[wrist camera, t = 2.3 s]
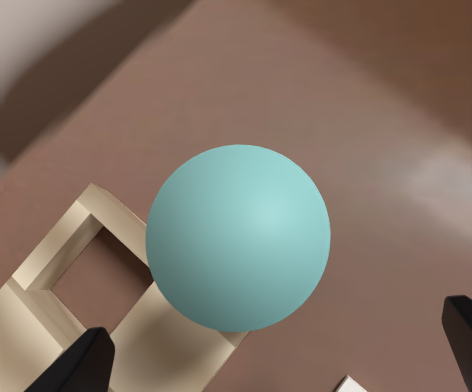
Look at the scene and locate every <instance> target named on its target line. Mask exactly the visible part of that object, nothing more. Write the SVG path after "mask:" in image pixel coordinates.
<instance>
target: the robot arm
mask: <svg viewBox="0 0 472 392" xmlns="http://www.w3.org/2000/svg"><path fill="white" fill-rule="evenodd" d="M442 325H443V328H444V331H445V333H446V336H447V338H448V341H449V343H450V346H451V348H452V351H453V354H454V356H455V359H456V361H457V364H458V366H459V369H460V371H461V374H462V376H463V379H464V381H465V384H466V386H467V389H468V391H469V392H472V299H470V298H469V297H467V296H465V295H453V296H447V297H446V298H445V301H444V307H443V313H442ZM114 357H115V344H114V342H113V341H112V339H111V337H110V336H109V334H108V332H107V330H106V329H105V328H104V327H93V328H89V329H87V330H86V331H85V332H84V333H83V334H82V335H81V336H80V337H79V338H78V339H77V340H76V341H75V342H74V343H73V344H72V345H71V346H70V347H69V348H68V349H67V350H66V351H65V352H64V353H63V354H61V355H60V356H59V357H58V358H57V359H56V360H55V361H54V362H53V363H52V364H51V365H50V366H49V367H48V368H47V369H46V370H45V371H44V372H43V373H42V374H41V375H40V376H39V377H38V378H37V379H36V380H35V381H34V382H33V383H32V384H31V385H30V386H29V387H28V388H27V389H26V390H25V391H24V392H108V388H109V383H110V378H111V372H112V367H113V362H114Z"/></svg>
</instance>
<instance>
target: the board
mask: <svg viewBox="0 0 472 392" xmlns="http://www.w3.org/2000/svg"><path fill="white" fill-rule="evenodd" d="M103 226H105V227H106V228H107V229H108V230H109V231H110V232H112V233H113V234H114V235H115V236H116V237H117V238H118V239H119V240H120V241H121V242H122V243H123V244H124V245H126V246H127V247H128V248H129V249H130V250H131V251H132V252H133V253H134V254H135V255H136V256H137V257H138V258H139V259H141V260H142V261H143V262H144V263H145V264H146V265H147V266H148V267H149V265H148V260H147V256H146V245H145V238H146V227H147V225H146V224H145V223H144V222H143V221H142V220H140V219H139V218H138V217H137V216H136V215H135V214H134V213H132V212H131V211H130V210H129V209H128V208H127V207H126V206H125V205H123V204H122V203H121V202H120V201H119V200H118V199H117V198H115V197H114V196H113V195H112V194H111V193H110V192H108V191H106V190H104V189H102V188H100V187H98V186H96V185H94V184H92V183H91V184H90V185H89V186H88V187H87V188H86V190H85V191H84V192H83V193H82V194H81V195H80V197H79V198H78V199H77V200H76V201H75V202H74V204H73V205H72V206H71V207H70V208H69V210H68V211H67V212H66V213H65V214H64V215H63V217H62V218H61V219H60V220H59V221H58V222H57V224H56V225H55V226H54V227H53V228H52V229H51V231H50V232H49V233H48V234H47V235H46V236H45V238H44V239H43V240H42V241H41V242H40V243H39V245H38V246H37V247H36V248H35V249H34V251H33V252H32V253H31V254H30V255H29V256H28V258H27V259H26V260H25V261H24V262H23V263H22V265H21V266H20V267H19V268H18V269H17V270H16V272H15V273H14V274H13V275H12V276H11V277H10V279H9V280H8V281H7V282H6V283H5V285H4V286H3V287H2V288H1V289H0V392H24V391H25V390H26V389H27V388H28V387H29V386H30V385H31V384H32V383H33V382H34V381H35V380H36V379H37V378H38V377H39V376H40V375H41V374H42V373H43V372H44V371H45V370H46V369H47V368H48V367H49V366H50V365H51V364H52V363H53V362H54V361H55V360H56V359H57V358H58V357H59V356H60V355H61V354H63V353H64V352H65V351H66V350H67V349H68V348H69V347H70V346H71V345H72V344H73V343H74V342H75V341H76V340H77V339H78V338H79V337H80V336H81V335H82V334H83V333H84V332H85V331H86V329H85V328H84V327H83V325H82V324H81V323H80V322H79V321H78V320H77V319H76V318H75V317H74V316H73V315H72V313H71V312H70V311H69V310H68V309H67V308H66V307H65V306H64V305H63V304H62V303H61V301H60V300H59V299H58V298H57V297H56V296H55V295H54V294H53V293H52V292H51V291H50V289H51V288H52V287H53V286H54V284H55V283H56V282H57V281H58V280H59V278H60V277H61V276H62V275H63V274H64V272H65V271H66V270H67V269H68V268H69V267H70V265H71V264H72V263H73V262H74V261H75V259H76V258H77V257H78V256H79V255H80V253H81V252H82V251H83V250H84V249H85V247H86V246H87V245H88V244H89V243H90V241H91V240H92V239H93V238H94V237H95V235H96V234H97V233H98V232H99V231H100V230H101V228H102V227H103ZM248 332H249V331H246V332H226V331H218V330H214V329H211V328H207V327H204V326H202V325H200V324H197V323H195V322H193V321H191V320H190V319H188V318H187V317H185V316H183V315H182V314H181V313H180V312H178V311H177V310H176V309H175V308H174V307H173V306H172V305H171V304H170V303H169V302H168V301H167V300H166V299H165V297H164V296H163V294H162V293H161V292H160V290H159V289H158V287H157V285H156V283H155V281H154V282H153V283H152V284H151V286H150V287H149V288H148V289H147V291H146V292H145V293H144V294H143V296H142V297H141V298H140V299H139V300H138V302H137V303H136V304H135V305H134V307H133V308H132V309H131V310H130V312H129V313H128V314H127V315H126V317H125V318H124V319H123V320H122V322H121V323H120V324H119V325H118V326H117V328H116V329H115V330H114V331H113V333H112V334H111V335H110V337H111V339H112V341H113V342H114V344H115V357H114V362H113V367H112V372H111V378H110V383H109V388H108V392H203V391H204V389H205V388H206V387H207V385H208V384H209V383H210V381H211V380H212V379H213V378H214V376H215V375H216V374H217V372H218V371H219V370H220V368H221V367H222V366H223V365H224V363H225V362H226V361H227V359H228V358H229V357H230V355H231V354H232V353H233V351H234V350H235V349H236V348H237V346H238V345H239V344H240V342H241V341H242V340H243V338H244V337H245V336H246V335H247V333H248Z"/></svg>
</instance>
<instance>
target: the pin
mask: <svg viewBox="0 0 472 392" xmlns="http://www.w3.org/2000/svg"><path fill="white" fill-rule="evenodd" d="M145 245H146V256H147V260H148V265H149V268H150V271H151V274H152V277H153V279H154V281H155V283H156V285H157V287H158V289H159V290H160V292H161V293H162V294H163V296H164V297H165V299H166V300H167V301H168V302H169V303H170V304H171V305H172V306H173V307H174V308H175V309H176V310H177V311H178V312H180V313H181V314H182V315H183V316H185V317H187V318H188V319H190V320H191V321H193V322H195V323H197V324H200V325H202V326H204V327H207V328H211V329H214V330H218V331H226V332H246V331H253V330H258V329H261V328H264V327H268V326H270V325H272V324H274V323H277V322H279V321H281V320H282V319H284V318H285V317H287V316H289V315H290V314H292V313H293V312H294V311H295V310H296V309H297V308H299V307H300V306H301V305H302V304H303V303H304V302H305V301H306V299H307V298H308V297H309V296H310V295H311V293H312V292H313V290H314V289H315V287H316V286H317V284H318V283H319V280H320V278H321V276H322V274H323V272H324V269H325V266H326V263H327V260H328V254H329V249H330V224H329V218H328V214H327V210H326V206H325V204H324V201H323V199H322V196H321V195H320V193H319V191H318V189H317V187H316V186H315V184H314V183H313V182H312V180H311V179H310V178H309V176H308V175H307V174H306V173H305V172H304V171H303V170H302V169H301V168H300V167H299V166H297V165H296V164H295V163H294V162H292V161H291V160H290V159H288V158H286V157H284V156H283V155H281V154H279V153H276V152H274V151H272V150H269V149H266V148H262V147H258V146H251V145H229V146H222V147H218V148H214V149H211V150H208V151H205V152H203V153H201V154H199V155H197V156H195V157H193V158H191V159H190V160H188V161H187V162H185V163H184V164H183V165H182V166H180V167H179V168H178V169H177V170H176V171H175V172H174V173H173V174H172V175H171V176H170V177H169V178H168V179H167V181H166V182H165V183H164V185H163V186H162V187H161V189H160V191H159V192H158V194H157V196H156V198H155V200H154V202H153V205H152V207H151V210H150V213H149V217H148V220H147V227H146V238H145Z"/></svg>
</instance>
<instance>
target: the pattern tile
mask: <svg viewBox="0 0 472 392" xmlns="http://www.w3.org/2000/svg"><path fill="white" fill-rule="evenodd" d="M335 392H367V391H366V390H365V389H363V388H362V387H361V386H360V385H359V384H358V383H356V382H355V381H354V380H353V379H352V378H351V377H349V376H348V375H347V376H346V377H345V379H344V380H343V382H342V383H341V384H340V386H339V387H338V388H337V390H336V391H335Z"/></svg>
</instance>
